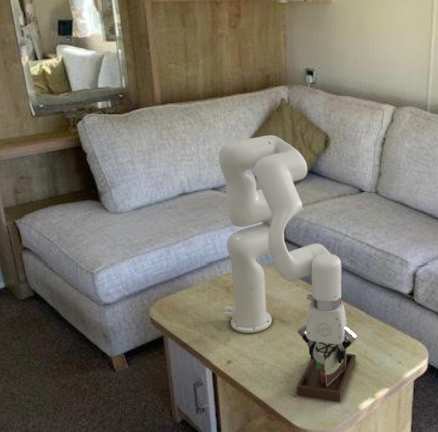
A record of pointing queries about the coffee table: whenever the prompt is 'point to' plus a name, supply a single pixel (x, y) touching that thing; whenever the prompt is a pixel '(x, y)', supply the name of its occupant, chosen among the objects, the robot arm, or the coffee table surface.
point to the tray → (315, 389)
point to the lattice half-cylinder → (328, 362)
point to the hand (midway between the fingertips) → (327, 358)
